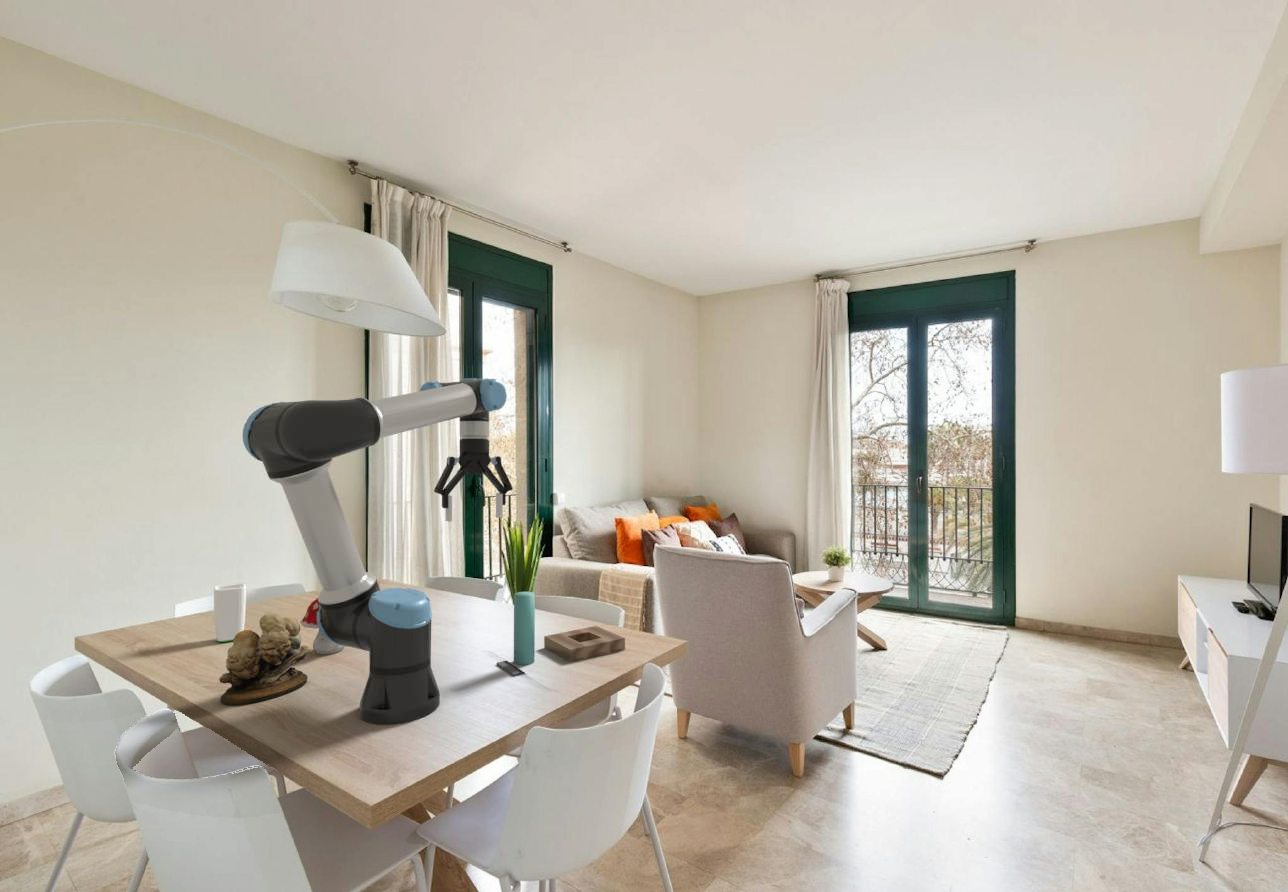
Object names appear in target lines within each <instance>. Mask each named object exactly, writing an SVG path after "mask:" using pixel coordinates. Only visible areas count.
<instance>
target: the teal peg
mask: <svg viewBox="0 0 1288 892" xmlns="http://www.w3.org/2000/svg"><path fill="white" fill-rule="evenodd" d="M535 606H536V593H535V592H533V591H518V592H515V593H514V594H513V665H514V666H515V665H516V666H522V667H523V666H524V667H525V666H528V665H533V664H534V663H535V653H536V652H535V649H536V648H535V645H536V643H535V638H536V637H535V633H536V631H535V630H536V628H535V626H536V625H535V623H536V622H535V620H536V618H535V617H536V607H535Z"/></svg>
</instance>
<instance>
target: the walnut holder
mask: <svg viewBox="0 0 1288 892" xmlns="http://www.w3.org/2000/svg"><path fill="white" fill-rule="evenodd" d="M543 639H544V642H543V645H544V649H546V650H547V651H549V652H551V653H553V654H555V655H557V656H559V657H560V658H562V659H564V660H566V661H568V662H570V663H573V662H578V661H583V660H587V659H591V658H595V657H600V656H604V655H608V654H613V653H617V652H621V651H624V650H626V638H625V637H624V636H623V635H622V636H621V635H619V634H616V633H614V632H612V631H609V630H608V629H605V628H602V627H600V626H598V625H594V626H589V627H585V628H584V627H583V628H579V629H574V630H569V631H564V632H558V633H555V634H549V635H544V637H543Z"/></svg>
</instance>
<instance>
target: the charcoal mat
mask: <svg viewBox="0 0 1288 892" xmlns="http://www.w3.org/2000/svg"><path fill="white" fill-rule="evenodd" d="M496 666H498V668H501V669H502V670H503V671H505V672H506V673H508V674H510V675H511V676H513V677H516V676H521V675H525V674H527V673H526V672H525V671H523V670H522V669H520V668H518V667H517V665H516V666H515V664H512V663H511V662H510V661H508V660H503V661H497V662H496Z"/></svg>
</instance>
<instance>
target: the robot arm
mask: <svg viewBox="0 0 1288 892" xmlns="http://www.w3.org/2000/svg"><path fill="white" fill-rule="evenodd" d="M507 395H508V394H507V389H506V386H505V385H504V383H503V382H501V381H500V380H499V379H496V378H488V377H487V378H474V377H471V378H470V377H469V378H462V379H461V380H459V381H451V382H440V381H426V382H425V383H423V385H421V387H420V389H419V391H415V392H410V393H409V392H408V393H404V394H399V395H395V396H389V397H383V398H378V399H374V400H369V399H367V398H365V397H356V398H351V399H337V400H336V399H333V400H327V399H326V400H319V399H318V400H313V399H311V400H308V399H307V400H301V401H299V400H298V401H287V402H285V401H279V402H275V403H274V402H273V403H270V404H267V405H262V406H261V407H259V408H257V409H256V410H255V411H253V412H252V413H251V414H250V415H249V416H248V418H247V419H246V422H245V423H244V425H243V429H242V442H243V446H244V447H245V449H246V451H247V452H248V454H249V455H250V456H252V457H253V458H254V459H255V460H257V461H260V462H262V464H263V466H264V469H265V471H266V474H267V476H268V478H269V480H270V481H272V482H275V483H277V484H279V485H281V486H282V489H283V492H284V495H285V497H286V500H287V502H288V504H289V507H290V510H291V512H292V515H293V517H294V520H295V522H296V525H297V527H298V529H299V533H300V535H301V538H302V541H303V543H304V545H305V548H306V549H307V552H308V555H309V558H310V561H311V563H312V564H313V567H314V570H315V572H316V575H317V578H318V580H319V583H320V585H321V590H320V593H319V594H318V596H317V598H318V601H319V604H320V605H319V607H320V608H319V611H318V612H317V624H318V627H319V628H318V630H319V629H320V631H321V633H322V634H323V635H324V636H325V637H326V638H327V639H329V640H331V641H333V642H335V643H337V644H339V645H344V646H345V647H351V648H353V649H359V650H362V651H367V652H368V653H369V654H368V655H369V659H368V660H369V668H368V669H369V674H368V677H367V680H366V683H365V687H364V690H363V693H362V695H361V698H360V702H359V717H360V718H361V719H362V720H363V721H366V722H368V723H372V724H380V725H381V724H382V725H384V724H385V725H386V724H387V725H388V724H397V723H398V724H399V723H404V722H409V721H414V720H417V719H420V718H423V717H425V716H427V715H430V714H431V713H433V712H434V711H435V710H437V708H439V706H440V704H441V703H440V702H441V700H440V697H441V695H440V689H439V686H438V684H437V683H438V682H437V680H436V678H435V675H434V674H435V673H434V672H433V669H432V662H431V661H432V657H431V656H432V650H431V649H432V615H433V613H432V608H431V606H432V605H431V599H430V597H429V596H428V595H427V593H425V592H424V591H421V590H418V589H416V588H410V587H409V588H407V587H406V588H402V587H389V588H383V589H381V588H380V585H379V583H378V579H377V578H376V577H377V576H376V575H375V574H373V573H371V572H368V571H366V569H365V567H364V564H363V561H362V560H361V555H360V554H359V551H358V548H357V545H356V543H355V540H354V537H353V535H352V532H351V529H350V526H349V523H348V521H347V519H346V516H345V513H344V511H343V508H342V505H341V503H340V500H339V496H338V494H337V491H336V489H335V486H334V482H333V479H332V478H331V475H330V472H329V468H330V466H331V464H332V463H333V462H334V461H333V460H334V458H337V457H341V456H343V455H346V454H351V453H352V452H355V451H356V452H357V451H358V450H363V449H365V448H368V447H372V446H375V445H377V444H378V442H380V439H382V438H386V437H390V436H394V435H397V434H401V433H404V432H409V431H412V430H415V429H420V428H425V427H427V426H431V425H435V424H439V423H443V422H446V421H451V420H454V419H459V437H460V439H459V456H458V457H455V456H448V457H447V459H446V465H445V467H444V469H443V471H442V473H441V475H440V478H439V479H438V482H436V486H435V487H434V490H433V491H434V493H436V494H439V495H441V507H442V508H443V509H445V522H453V495H450V494H451V492H453V490H454V489H455V487H456V486H457V485H458V483H460V481H461V480H462V478H463V477H464V476H465V475H467V474H468V475H474V474H476V475H477V474H483V475H484V476H485V477H486V479H488V480H489V482H490V483H491V484H492V486H494V488H495V489H496V490H497V493H496V492H495V518H496V519H497V518H498V519H503V516H504V514H503V513H504V511H503V506H505V505H506V504H507V502H506V501H507V500H506V499H507V498H506V496H507V495H506V494H507V493H508V492H510V491H512V490H513V486H512V483H511V481H510V480H509V476H508V475H507V473H506V471H505V468H504V466H503V464H502V458H501V456H499V455H497V456H496V455H495V456H493V457H491V456H490V440H489V439H488V438H489V437H490V413H491V412H493V411H498V410H500V409H502V408H504V406H505V404H506V403H507V397H508V396H507ZM490 463H491V464H492V465H493V466H494V469H495V471H496V473H497V475H498V477H499V479H500V481H499V479H498V478H497V477H496V476H495V474H494V473H493V471H492V470H491V468H489V466H490ZM457 464H459V466H460V468H458V470H457V471H456V474H455V475H454V476H453V477H452V478H451V480H450V481H449V482H448V480H449V478H450V475H451V473H452V471H453V470H454V467H456V465H457ZM447 482H448V483H447Z"/></svg>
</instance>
